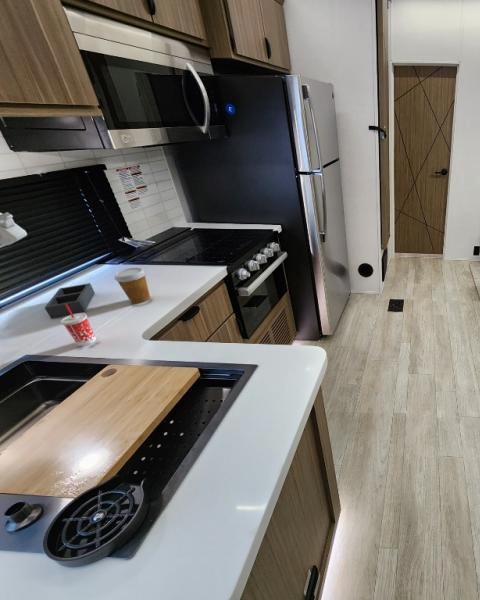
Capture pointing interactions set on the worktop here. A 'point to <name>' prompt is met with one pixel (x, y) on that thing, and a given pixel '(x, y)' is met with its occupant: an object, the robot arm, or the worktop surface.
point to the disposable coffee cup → (133, 284)
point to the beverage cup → (79, 328)
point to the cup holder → (70, 300)
